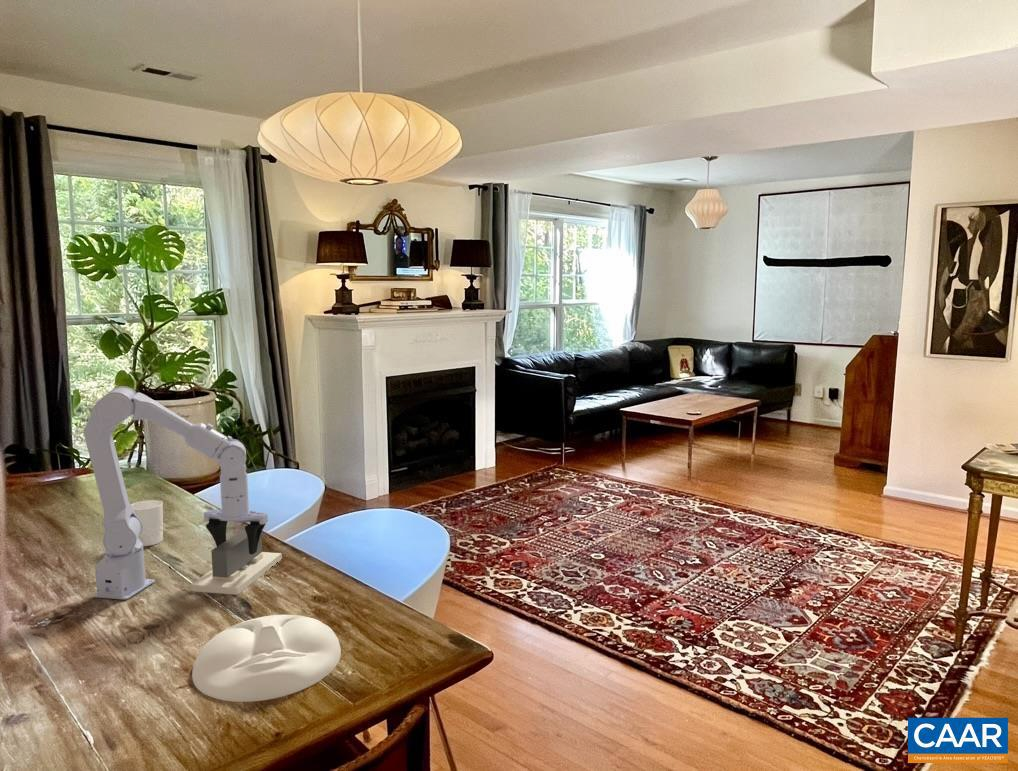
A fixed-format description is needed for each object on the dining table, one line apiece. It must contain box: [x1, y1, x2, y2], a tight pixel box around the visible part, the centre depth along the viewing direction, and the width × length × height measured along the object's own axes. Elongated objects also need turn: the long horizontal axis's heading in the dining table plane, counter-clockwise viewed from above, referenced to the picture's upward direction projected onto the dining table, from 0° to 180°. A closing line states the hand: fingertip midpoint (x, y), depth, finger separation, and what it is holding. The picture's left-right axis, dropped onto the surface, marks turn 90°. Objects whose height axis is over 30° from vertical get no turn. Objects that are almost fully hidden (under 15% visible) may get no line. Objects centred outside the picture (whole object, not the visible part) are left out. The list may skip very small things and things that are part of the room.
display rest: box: [190, 551, 283, 596], centre depth 161 cm, size 20×11×2 cm, turn 171°
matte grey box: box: [210, 528, 263, 578], centre depth 161 cm, size 15×4×6 cm, turn 171°
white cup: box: [130, 499, 164, 547], centre depth 181 cm, size 8×8×10 cm
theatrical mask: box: [191, 614, 342, 703], centre depth 124 cm, size 25×8×25 cm
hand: (237, 551), depth 161 cm, fingers open, 7 cm apart
